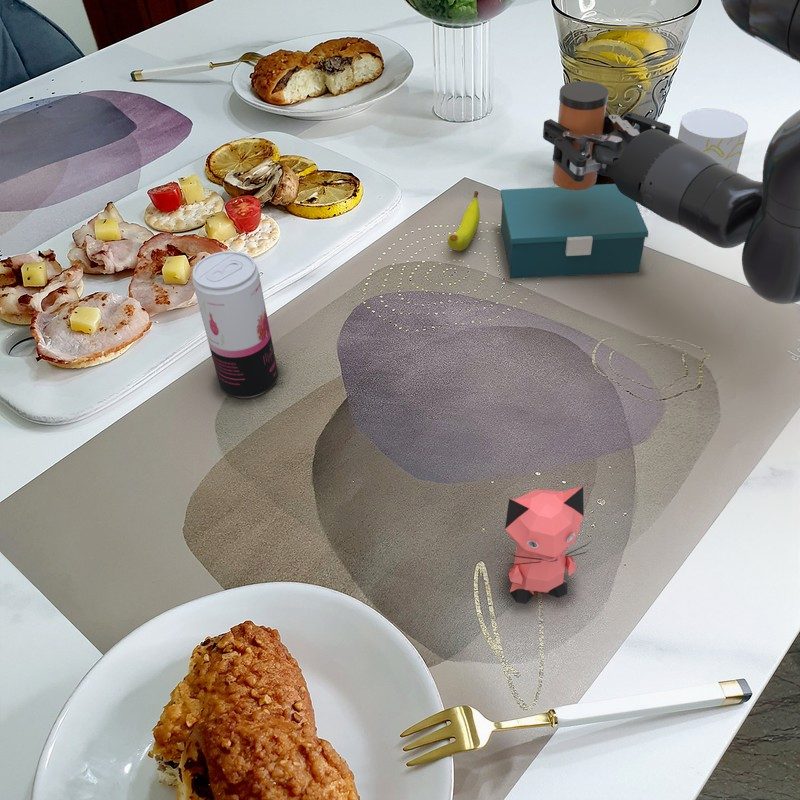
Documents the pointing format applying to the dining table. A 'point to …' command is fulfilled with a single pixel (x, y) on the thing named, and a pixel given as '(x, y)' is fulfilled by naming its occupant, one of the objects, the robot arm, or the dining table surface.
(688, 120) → the cup
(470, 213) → the fruit
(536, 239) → the lunchbox
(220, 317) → the beverage can
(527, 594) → the cat figurine
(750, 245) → the robot arm
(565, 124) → the tea tin
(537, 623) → the dining table surface
